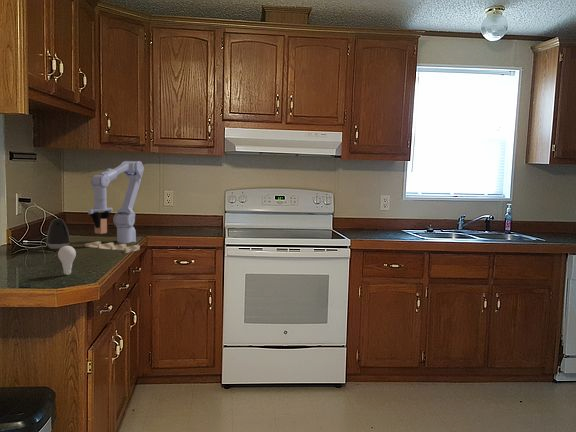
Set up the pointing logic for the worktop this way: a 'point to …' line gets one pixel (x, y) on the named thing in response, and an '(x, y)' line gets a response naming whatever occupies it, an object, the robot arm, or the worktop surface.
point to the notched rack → (113, 246)
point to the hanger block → (102, 226)
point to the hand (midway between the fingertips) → (100, 227)
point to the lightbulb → (67, 258)
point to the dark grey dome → (58, 234)
